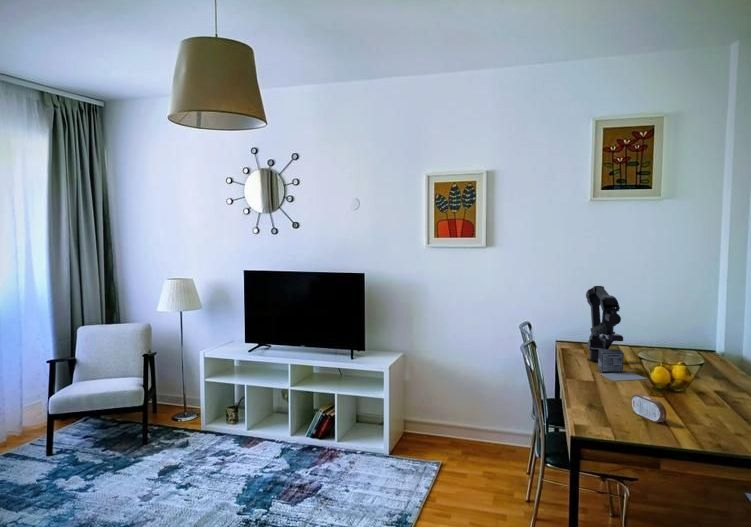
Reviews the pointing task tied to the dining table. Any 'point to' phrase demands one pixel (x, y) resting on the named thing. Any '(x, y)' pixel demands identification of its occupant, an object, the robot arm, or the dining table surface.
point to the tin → (648, 408)
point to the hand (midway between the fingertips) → (605, 351)
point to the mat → (623, 376)
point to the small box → (610, 360)
